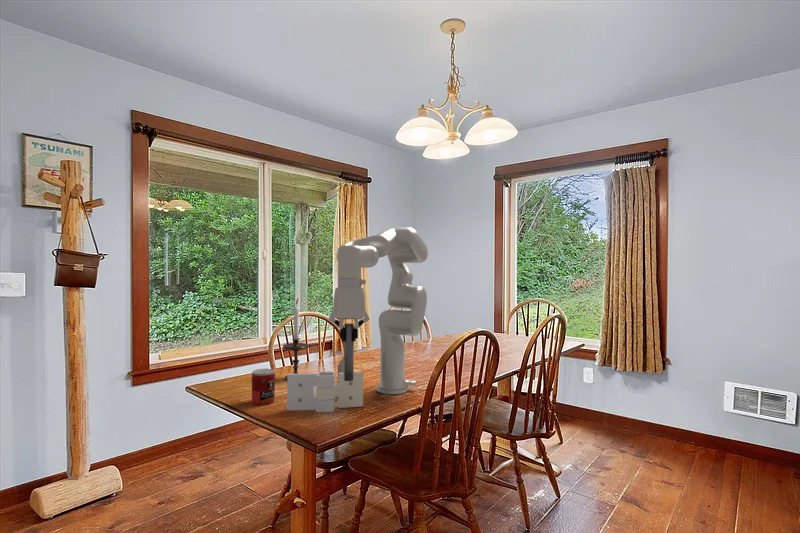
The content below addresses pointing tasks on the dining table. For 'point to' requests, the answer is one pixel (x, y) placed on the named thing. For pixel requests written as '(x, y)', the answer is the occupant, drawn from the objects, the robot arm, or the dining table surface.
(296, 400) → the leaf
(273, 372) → the canned food
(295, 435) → the dining table surface
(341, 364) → the laptop
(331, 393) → the leaf
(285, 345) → the candlestick
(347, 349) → the pin
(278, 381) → the dining table surface
